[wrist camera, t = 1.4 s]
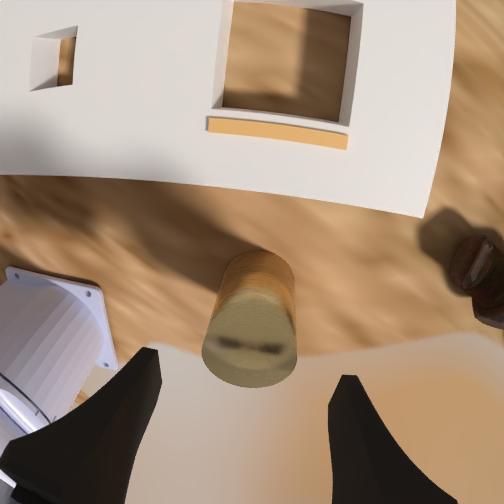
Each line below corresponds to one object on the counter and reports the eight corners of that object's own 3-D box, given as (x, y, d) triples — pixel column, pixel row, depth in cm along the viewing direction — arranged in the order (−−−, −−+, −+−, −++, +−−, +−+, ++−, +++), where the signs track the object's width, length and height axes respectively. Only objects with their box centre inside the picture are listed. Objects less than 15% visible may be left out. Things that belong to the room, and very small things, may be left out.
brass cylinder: (221, 304, 19) (201, 380, 14) (226, 245, 17) (201, 315, 12) (287, 313, 19) (287, 392, 14) (299, 255, 17) (306, 329, 12)
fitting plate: (10, 163, 16) (-17, 176, 14) (20, -7, 10) (-8, -12, 8) (404, 200, 15) (424, 219, 13) (433, -11, 10) (457, -25, 7)
